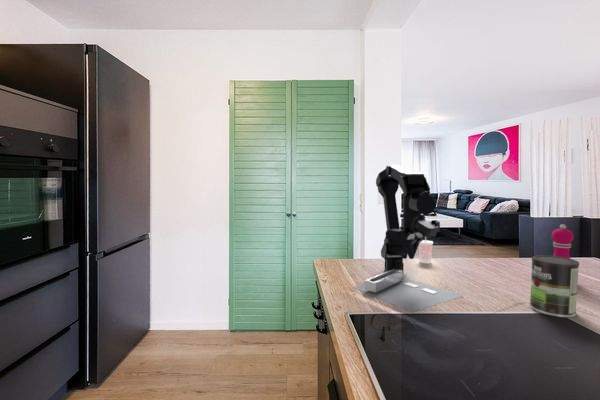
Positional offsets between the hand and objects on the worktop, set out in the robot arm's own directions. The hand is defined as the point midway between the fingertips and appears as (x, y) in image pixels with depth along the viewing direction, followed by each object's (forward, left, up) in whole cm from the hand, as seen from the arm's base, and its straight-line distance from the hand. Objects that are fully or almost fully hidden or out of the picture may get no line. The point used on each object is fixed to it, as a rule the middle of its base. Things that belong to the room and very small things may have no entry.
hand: (411, 258), depth 109 cm
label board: (+3, -6, -10) cm, 12 cm away
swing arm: (-4, -7, -8) cm, 12 cm away
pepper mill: (+23, +50, -10) cm, 56 cm away
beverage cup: (-20, +33, -10) cm, 40 cm away
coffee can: (+33, +18, -10) cm, 39 cm away
